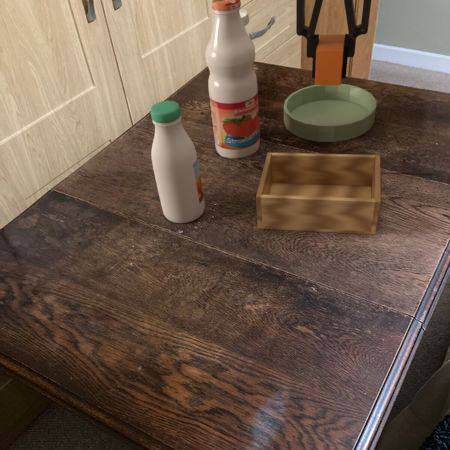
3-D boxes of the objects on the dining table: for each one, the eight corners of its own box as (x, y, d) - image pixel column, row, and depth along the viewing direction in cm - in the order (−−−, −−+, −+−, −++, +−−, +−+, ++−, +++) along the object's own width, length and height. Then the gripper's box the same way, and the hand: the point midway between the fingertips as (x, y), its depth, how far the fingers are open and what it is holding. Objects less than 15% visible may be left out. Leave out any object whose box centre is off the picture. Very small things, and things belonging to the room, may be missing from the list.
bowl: (373, 100, 112) (376, 83, 109) (373, 144, 100) (376, 126, 97) (289, 100, 116) (289, 83, 113) (279, 143, 103) (278, 125, 101)
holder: (375, 186, 90) (380, 154, 85) (375, 234, 81) (380, 202, 76) (268, 183, 94) (267, 152, 89) (257, 228, 85) (255, 196, 80)
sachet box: (342, 68, 92) (345, 34, 88) (340, 85, 87) (343, 50, 83) (318, 68, 93) (320, 34, 89) (314, 85, 88) (316, 50, 84)
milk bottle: (196, 227, 87) (177, 120, 72) (157, 221, 89) (131, 116, 75) (211, 201, 92) (196, 96, 77) (173, 196, 94) (152, 93, 79)
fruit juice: (242, 132, 108) (231, -14, 88) (269, 148, 102) (265, -4, 82) (207, 148, 105) (187, 1, 84) (233, 166, 99) (219, 12, 79)
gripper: (276, -75, 72) (278, 84, 89) (401, -83, 68) (379, 84, 86) (283, -86, 77) (284, 66, 94) (400, -94, 73) (379, 66, 90)
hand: (329, 74), depth 90 cm, fingers closed on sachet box, 4 cm apart
